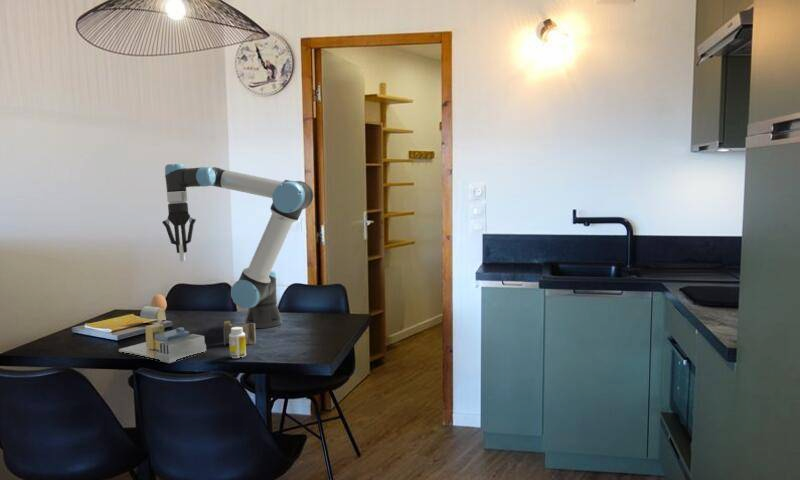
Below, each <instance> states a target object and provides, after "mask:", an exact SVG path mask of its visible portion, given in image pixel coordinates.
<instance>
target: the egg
mask: <svg viewBox="0 0 800 480" xmlns="http://www.w3.org/2000/svg"><path fill="white" fill-rule="evenodd" d="M150 303H151V304H150V307H158V308H162V309H163V310H164V311H166V309H167V307H168V305H167V300H166V297H164V295H162V294H160V293H157V294H155V295H154V296H153V298H152V300H151V302H150Z"/></svg>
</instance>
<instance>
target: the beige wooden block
mask: <svg viewBox="0 0 800 480" xmlns="http://www.w3.org/2000/svg"><path fill="white" fill-rule="evenodd" d="M144 328H145V329H144V330H145V342H146V348H149V349H157V350H159V343H162V342H166V341H163V340H158V339H155V337H154V335H155V334H159V333H163V332H165V324H163V323H161V324H148V325H145V326H144Z"/></svg>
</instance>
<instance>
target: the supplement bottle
mask: <svg viewBox="0 0 800 480" xmlns="http://www.w3.org/2000/svg"><path fill="white" fill-rule="evenodd" d="M228 345H229V357H230V358H231V357H232V359H241V358H240V357H242V358H244V357H246V356H247V344H246V339H245V333H244V332H243V328H242V327H233V328H231V333H230V334H229V343H228Z"/></svg>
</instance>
